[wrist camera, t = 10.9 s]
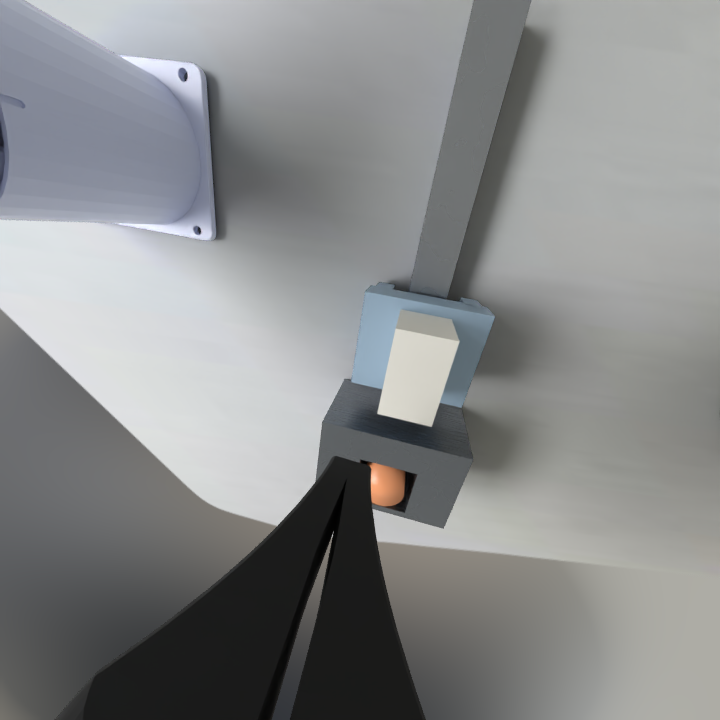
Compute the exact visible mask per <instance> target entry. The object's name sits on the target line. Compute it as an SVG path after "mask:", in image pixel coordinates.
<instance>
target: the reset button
mask: <svg viewBox="0 0 720 720" xmlns="http://www.w3.org/2000/svg"><path fill="white" fill-rule="evenodd" d="M367 465H369V466H370V467H371V469H372V470H371V498H372V502H373V503H375V504H377V505H381V506H393V505H396V504H398V503H399V502H401V500H402V499H403V497H404V488H405V473H406V471H403V470H399V469H395V468H392V467H388V466H384V465H380V464H376V463H372V462H369V461H368V463H367Z"/></svg>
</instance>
